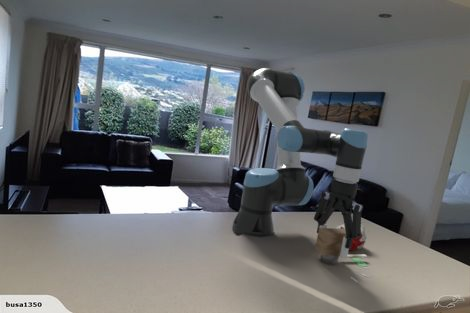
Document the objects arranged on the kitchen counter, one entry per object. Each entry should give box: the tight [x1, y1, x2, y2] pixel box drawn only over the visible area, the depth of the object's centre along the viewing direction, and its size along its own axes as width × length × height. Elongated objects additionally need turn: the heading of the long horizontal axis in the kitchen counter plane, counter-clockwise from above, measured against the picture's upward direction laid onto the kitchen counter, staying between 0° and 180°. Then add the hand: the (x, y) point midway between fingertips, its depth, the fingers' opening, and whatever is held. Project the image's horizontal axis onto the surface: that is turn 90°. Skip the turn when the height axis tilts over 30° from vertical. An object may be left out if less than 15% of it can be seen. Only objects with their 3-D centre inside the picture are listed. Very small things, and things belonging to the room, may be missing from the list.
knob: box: [314, 227, 368, 266], centre depth 106 cm, size 18×5×10 cm, turn 109°
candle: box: [336, 223, 367, 251], centre depth 121 cm, size 9×11×15 cm
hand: (331, 250), depth 105 cm, fingers open, 8 cm apart
